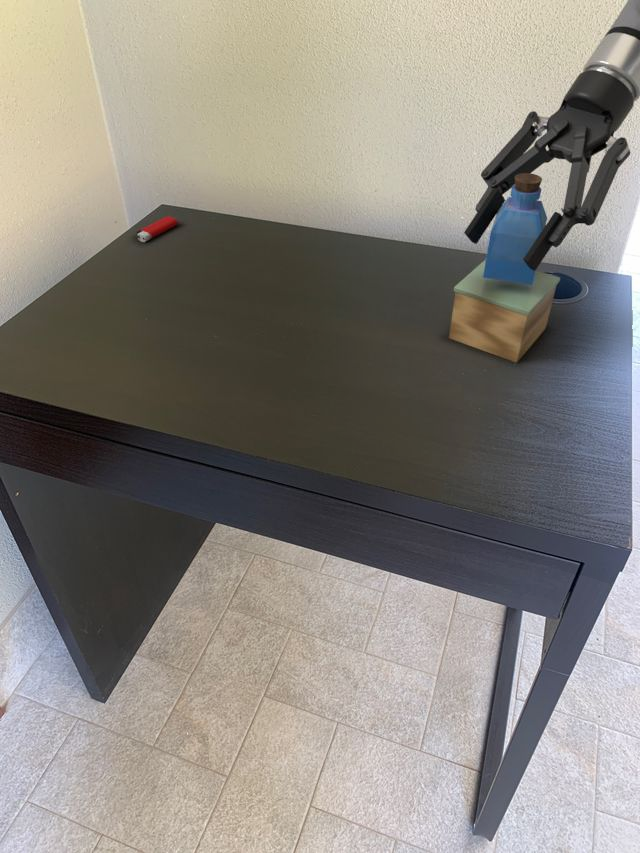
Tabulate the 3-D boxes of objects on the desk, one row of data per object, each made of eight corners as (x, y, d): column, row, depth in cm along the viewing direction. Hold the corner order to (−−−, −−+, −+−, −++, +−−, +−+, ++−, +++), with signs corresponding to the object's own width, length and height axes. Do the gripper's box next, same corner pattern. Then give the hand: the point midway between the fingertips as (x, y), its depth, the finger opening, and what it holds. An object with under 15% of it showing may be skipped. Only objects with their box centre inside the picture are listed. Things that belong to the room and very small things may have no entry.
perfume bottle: (532, 284, 86) (553, 191, 78) (482, 277, 87) (498, 184, 79) (537, 262, 90) (557, 171, 82) (489, 255, 92) (505, 165, 84)
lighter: (177, 219, 120) (144, 236, 116) (178, 226, 121) (145, 243, 116) (165, 215, 122) (132, 232, 117) (166, 222, 122) (134, 239, 118)
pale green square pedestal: (547, 328, 96) (560, 277, 91) (517, 364, 90) (529, 311, 84) (479, 306, 101) (488, 256, 95) (446, 338, 94) (453, 287, 89)
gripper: (696, 128, 78) (579, 297, 81) (543, 88, 91) (446, 235, 94) (688, 87, 72) (562, 271, 75) (525, 50, 85) (423, 209, 88)
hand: (498, 251), depth 85 cm, fingers closed on perfume bottle, 8 cm apart
